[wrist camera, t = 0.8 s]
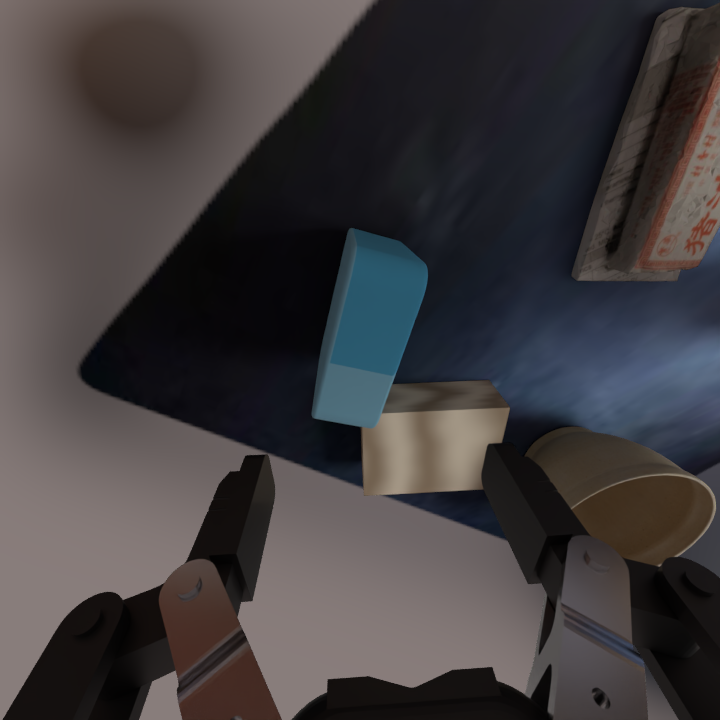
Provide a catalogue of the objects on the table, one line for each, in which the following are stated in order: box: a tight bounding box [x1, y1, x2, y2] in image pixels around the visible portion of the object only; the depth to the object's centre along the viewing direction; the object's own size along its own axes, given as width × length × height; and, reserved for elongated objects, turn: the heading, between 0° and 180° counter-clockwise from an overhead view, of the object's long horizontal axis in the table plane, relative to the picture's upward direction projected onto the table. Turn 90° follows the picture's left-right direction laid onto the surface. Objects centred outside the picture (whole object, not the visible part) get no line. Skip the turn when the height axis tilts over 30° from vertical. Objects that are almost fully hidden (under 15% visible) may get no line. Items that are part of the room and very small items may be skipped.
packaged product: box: [571, 3, 720, 281], centre depth 24 cm, size 18×5×10 cm
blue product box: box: [312, 228, 428, 428], centre depth 25 cm, size 12×4×12 cm, turn 166°
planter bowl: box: [524, 427, 716, 566], centre depth 36 cm, size 16×16×11 cm
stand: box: [361, 380, 510, 496], centre depth 35 cm, size 14×11×5 cm
